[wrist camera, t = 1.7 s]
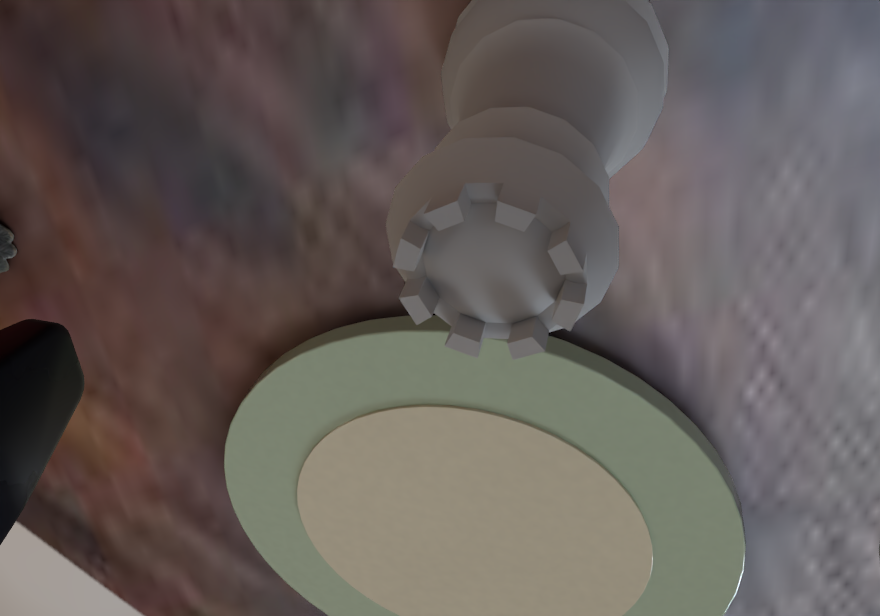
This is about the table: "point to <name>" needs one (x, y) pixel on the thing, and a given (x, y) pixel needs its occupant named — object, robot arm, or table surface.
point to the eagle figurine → (6, 247)
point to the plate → (479, 481)
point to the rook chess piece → (527, 167)
